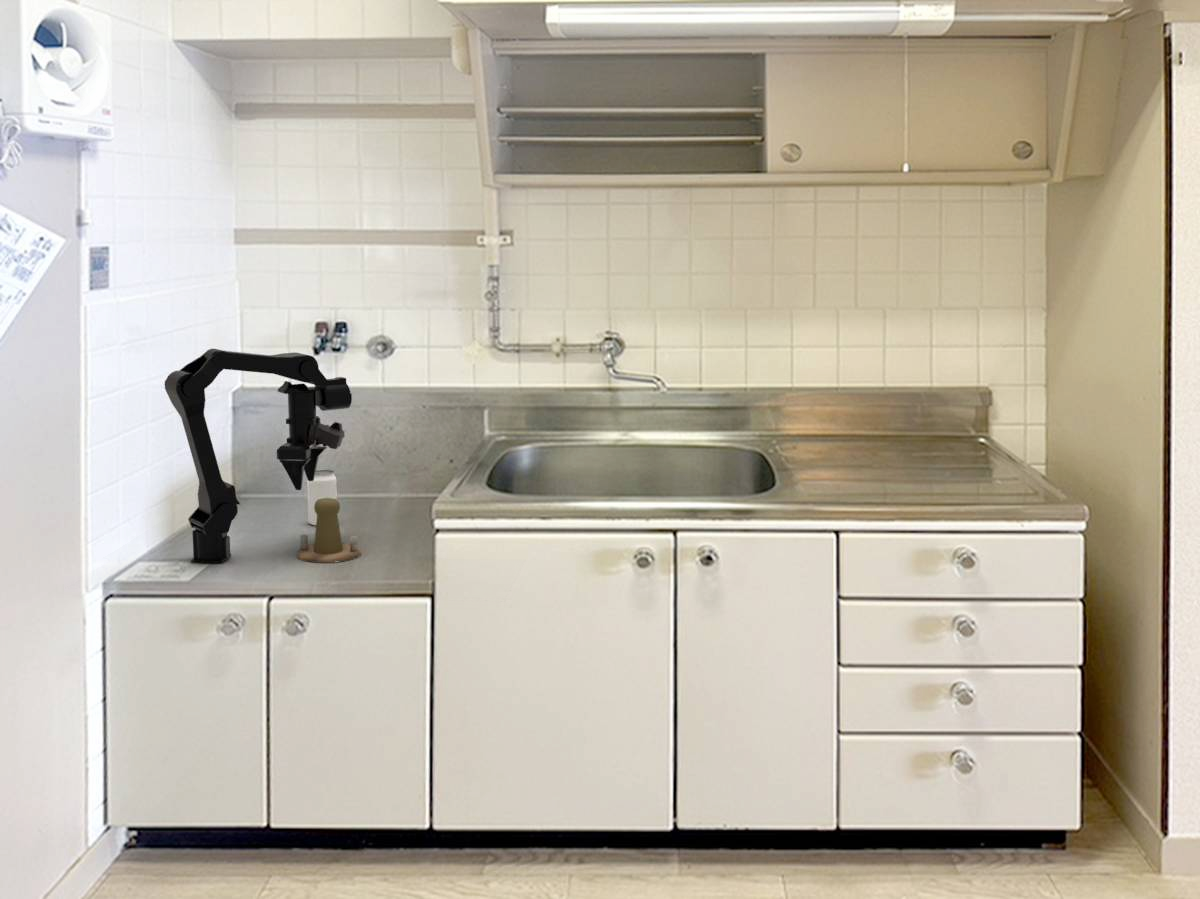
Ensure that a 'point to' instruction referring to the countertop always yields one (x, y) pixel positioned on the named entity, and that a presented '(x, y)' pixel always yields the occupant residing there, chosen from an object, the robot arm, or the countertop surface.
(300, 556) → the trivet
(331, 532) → the cork
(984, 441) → the countertop surface
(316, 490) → the can
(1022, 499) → the countertop surface
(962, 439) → the countertop surface
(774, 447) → the countertop surface
